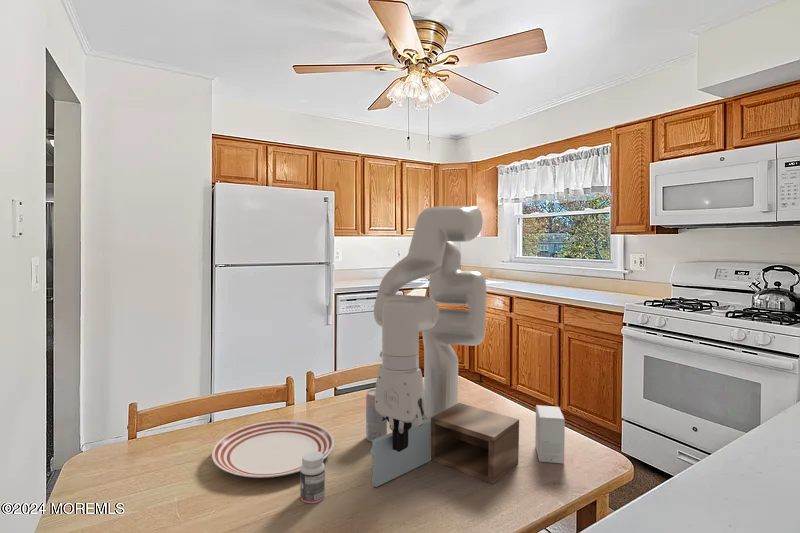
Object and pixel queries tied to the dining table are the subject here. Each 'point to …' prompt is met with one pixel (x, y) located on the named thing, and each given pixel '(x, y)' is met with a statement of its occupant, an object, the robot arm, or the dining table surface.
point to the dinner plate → (270, 448)
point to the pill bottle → (312, 477)
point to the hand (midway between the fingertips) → (400, 448)
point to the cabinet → (475, 441)
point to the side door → (400, 454)
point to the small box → (550, 434)
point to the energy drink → (374, 419)
